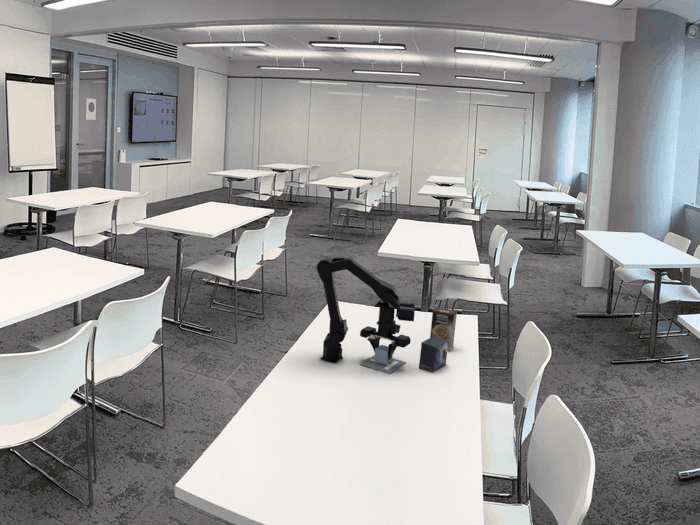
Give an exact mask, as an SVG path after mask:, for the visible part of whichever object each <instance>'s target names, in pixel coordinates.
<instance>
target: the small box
mask: <svg viewBox="0 0 700 525" xmlns="http://www.w3.org/2000/svg"><path fill="white" fill-rule="evenodd" d="M448 341H449V340H447V339H444V338H441V337H438V336H434V337H431V338H430V337H429V338H427V339H425V340H423V341H421V343H420V344H421V346H420V353H419V354H420V355H419V363H418V368H419V369H421V370H424V371H428V372H430V373H434V372H435V371H436V372H437V370H439V369H441V368H443V367H445V366H446V365H447V358H448V357H447V356H448V351H447V349H448Z"/></svg>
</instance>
